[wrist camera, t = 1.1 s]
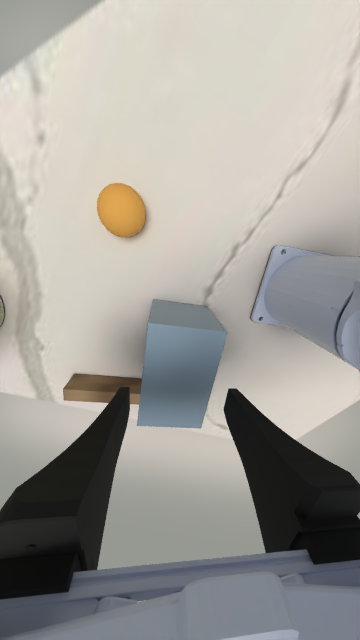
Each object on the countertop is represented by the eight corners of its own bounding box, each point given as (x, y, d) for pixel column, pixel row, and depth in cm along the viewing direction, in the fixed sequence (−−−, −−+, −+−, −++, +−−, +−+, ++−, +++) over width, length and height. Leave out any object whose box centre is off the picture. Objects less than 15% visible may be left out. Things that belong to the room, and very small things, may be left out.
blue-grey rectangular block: (207, 306, 19) (227, 332, 13) (190, 380, 23) (200, 428, 16) (153, 299, 18) (148, 322, 12) (144, 376, 22) (137, 425, 16)
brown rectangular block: (159, 380, 22) (159, 395, 20) (158, 389, 23) (157, 405, 20) (74, 373, 21) (63, 389, 18) (74, 384, 21) (63, 400, 19)
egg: (149, 196, 15) (145, 181, 12) (145, 242, 16) (140, 239, 13) (105, 187, 15) (88, 168, 11) (105, 234, 16) (89, 230, 13)
